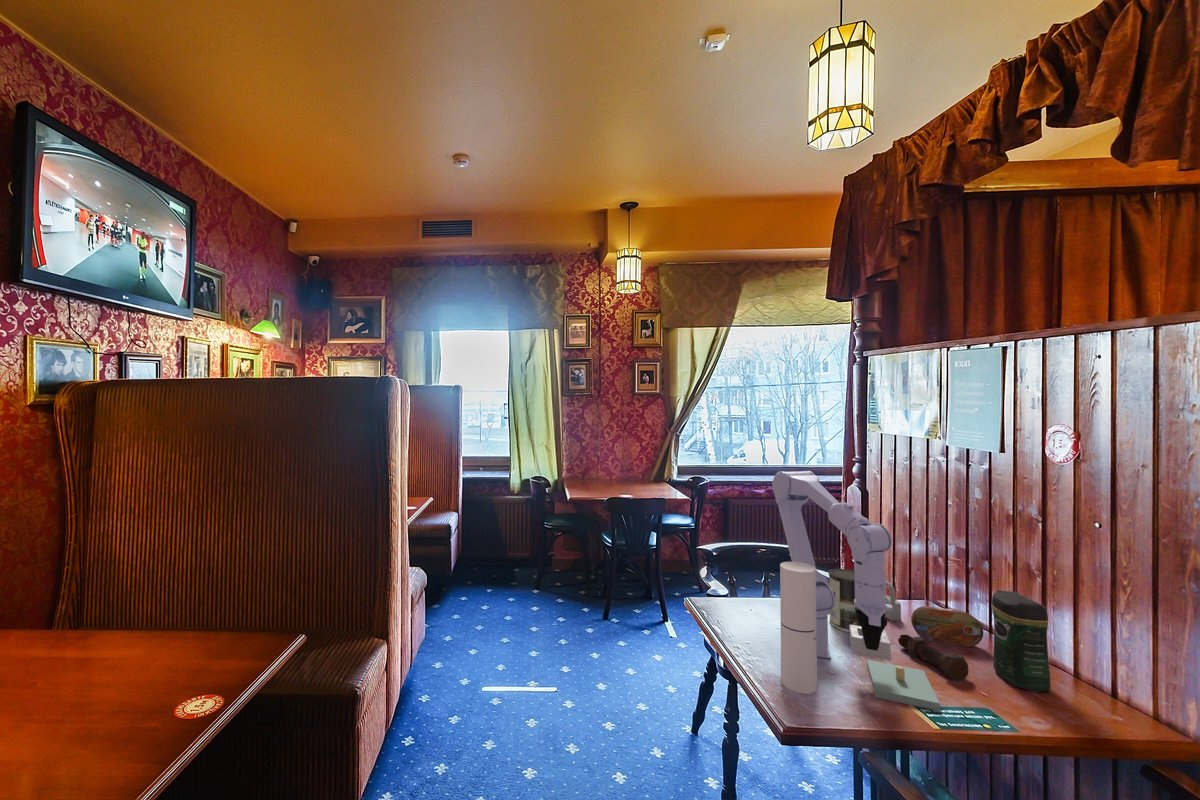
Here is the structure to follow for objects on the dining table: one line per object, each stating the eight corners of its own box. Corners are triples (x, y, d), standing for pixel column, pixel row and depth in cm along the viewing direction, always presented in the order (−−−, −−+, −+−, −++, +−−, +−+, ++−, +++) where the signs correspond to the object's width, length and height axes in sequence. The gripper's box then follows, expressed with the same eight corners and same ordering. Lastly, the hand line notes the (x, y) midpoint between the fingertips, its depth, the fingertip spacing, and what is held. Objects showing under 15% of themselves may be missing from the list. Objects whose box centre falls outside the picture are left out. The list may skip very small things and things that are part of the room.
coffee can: (879, 628, 125) (878, 576, 126) (857, 637, 120) (856, 583, 120) (843, 614, 134) (842, 566, 134) (821, 622, 129) (820, 571, 129)
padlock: (873, 610, 137) (873, 577, 137) (886, 610, 137) (886, 577, 137) (889, 621, 130) (889, 585, 130) (903, 621, 130) (902, 585, 130)
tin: (913, 639, 119) (912, 606, 120) (910, 633, 122) (909, 602, 123) (984, 650, 114) (983, 616, 114) (979, 644, 117) (978, 611, 117)
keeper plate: (875, 697, 94) (875, 677, 94) (866, 666, 106) (866, 648, 106) (940, 711, 89) (939, 690, 90) (923, 677, 101) (923, 658, 101)
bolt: (906, 654, 115) (962, 687, 100) (890, 645, 114) (945, 677, 100) (914, 633, 116) (972, 662, 101) (899, 624, 115) (955, 652, 100)
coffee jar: (1059, 696, 95) (1056, 605, 96) (1015, 691, 96) (1012, 602, 97) (1026, 671, 104) (1023, 589, 105) (986, 667, 106) (984, 586, 107)
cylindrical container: (773, 678, 100) (773, 563, 101) (797, 671, 103) (796, 560, 104) (799, 697, 94) (798, 573, 95) (824, 689, 96) (823, 569, 98)
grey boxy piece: (852, 653, 97) (852, 636, 98) (849, 640, 104) (849, 624, 104) (890, 660, 94) (890, 643, 95) (885, 646, 101) (885, 630, 101)
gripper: (898, 596, 89) (899, 668, 88) (886, 574, 102) (887, 636, 101) (856, 591, 92) (858, 659, 91) (850, 570, 105) (851, 630, 104)
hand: (871, 647), depth 97 cm, fingers closed on grey boxy piece
